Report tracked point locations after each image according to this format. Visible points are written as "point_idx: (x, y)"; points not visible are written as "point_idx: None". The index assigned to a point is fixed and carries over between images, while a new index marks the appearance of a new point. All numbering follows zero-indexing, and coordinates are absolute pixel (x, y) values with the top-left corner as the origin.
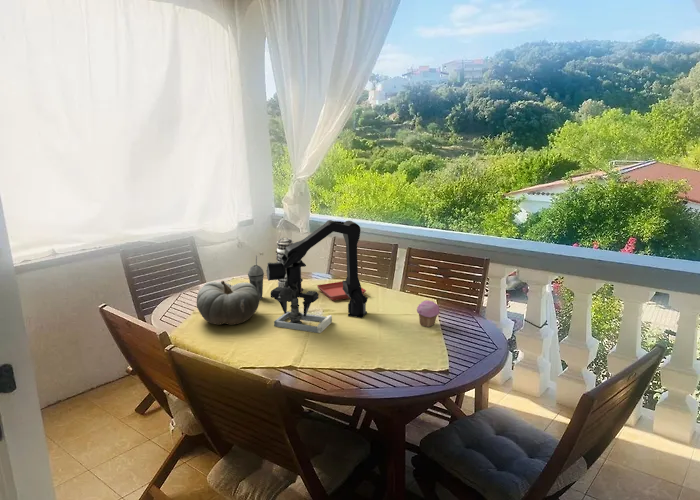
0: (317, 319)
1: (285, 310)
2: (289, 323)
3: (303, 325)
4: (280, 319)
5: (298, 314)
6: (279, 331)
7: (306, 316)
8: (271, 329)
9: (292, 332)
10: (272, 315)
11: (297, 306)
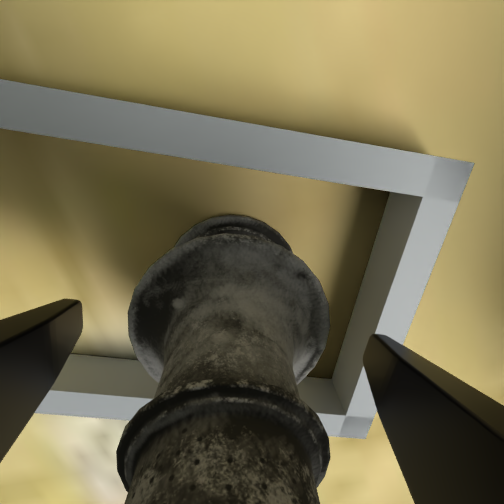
0: None
1: (389, 371)
2: (250, 133)
3: (21, 95)
4: (398, 251)
5: (164, 316)
6: (343, 6)
7: (146, 387)
8: (451, 54)
9: (170, 5)
10: (478, 383)
11: (136, 437)
